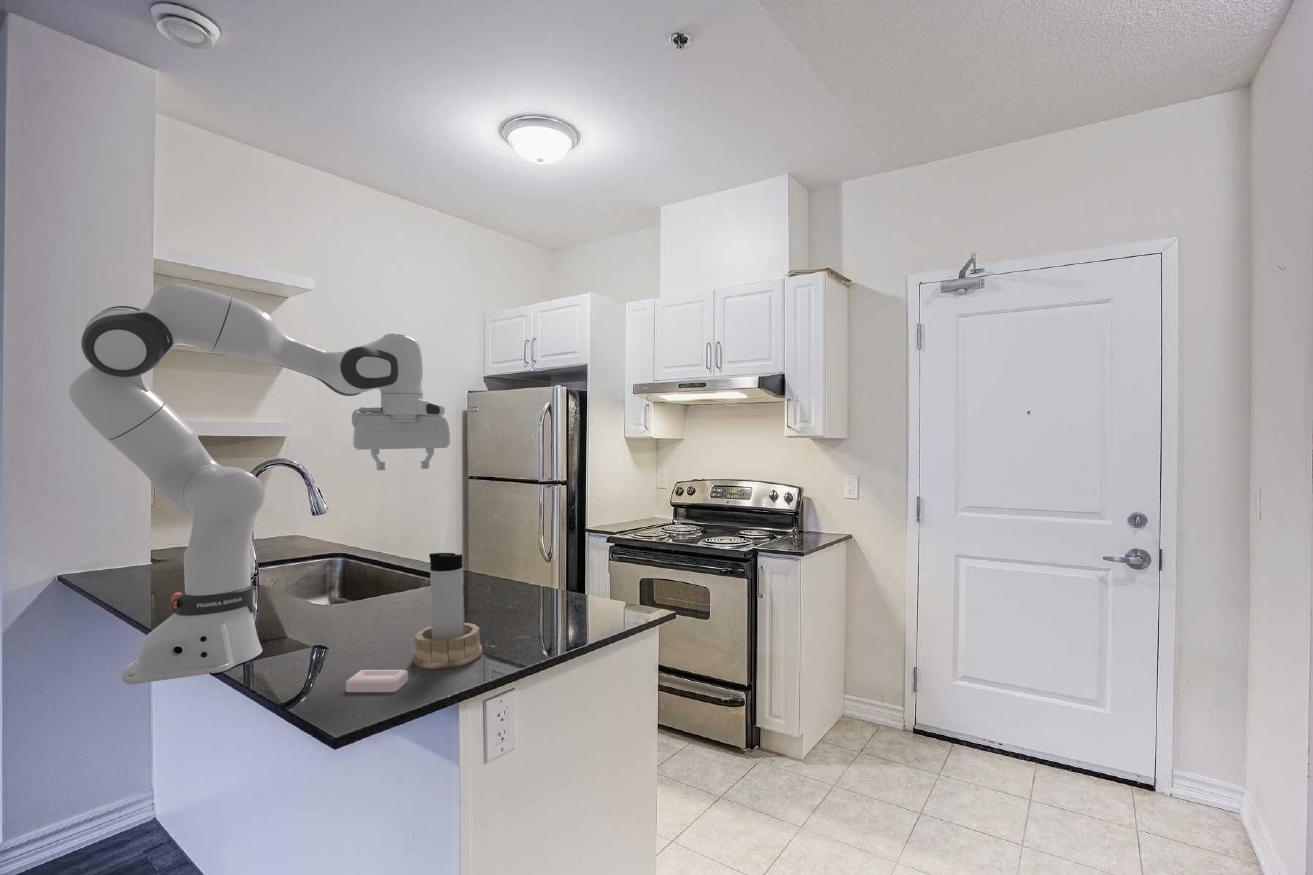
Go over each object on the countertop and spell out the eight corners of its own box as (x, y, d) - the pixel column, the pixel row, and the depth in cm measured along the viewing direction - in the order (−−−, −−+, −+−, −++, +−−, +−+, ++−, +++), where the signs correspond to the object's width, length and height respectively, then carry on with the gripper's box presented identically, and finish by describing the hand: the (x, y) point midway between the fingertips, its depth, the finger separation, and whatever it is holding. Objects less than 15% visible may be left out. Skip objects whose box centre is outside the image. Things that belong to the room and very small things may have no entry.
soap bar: (395, 694, 112) (395, 680, 112) (344, 694, 113) (344, 680, 113) (409, 681, 118) (408, 668, 117) (360, 681, 118) (360, 668, 118)
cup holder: (422, 674, 120) (421, 647, 120) (406, 654, 131) (405, 629, 131) (491, 658, 127) (490, 633, 127) (470, 641, 138) (470, 617, 138)
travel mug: (424, 653, 128) (421, 552, 128) (451, 643, 134) (449, 547, 133) (444, 659, 125) (441, 556, 124) (471, 648, 130) (469, 550, 130)
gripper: (353, 406, 137) (354, 471, 137) (451, 407, 148) (452, 468, 148) (349, 407, 142) (350, 470, 142) (444, 409, 153) (445, 467, 153)
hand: (403, 469), depth 145 cm, fingers open, 8 cm apart
